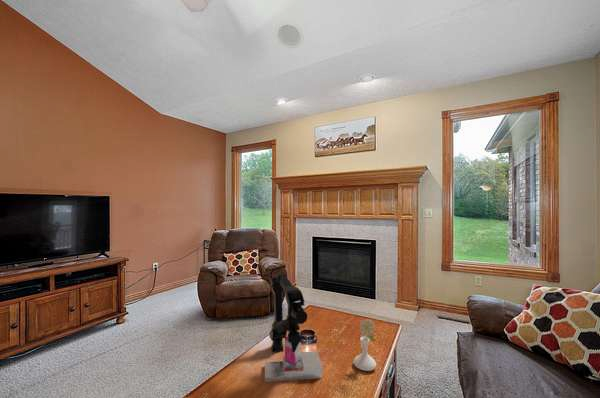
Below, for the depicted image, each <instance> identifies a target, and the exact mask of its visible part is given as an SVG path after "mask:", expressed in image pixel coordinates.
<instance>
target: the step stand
mask: <svg viewBox="0 0 600 398" xmlns="http://www.w3.org/2000/svg"><path fill="white" fill-rule="evenodd" d="M322 378H323V363H322V361H321V357H320V355H319V352H318V351H301V360H300V361H299V362H298V363H296V364H295V365H291V364H290V363H288V362H286V361H285V356H282V360H280V361H266V362H264V383H267V382H268V383H271V382H272V383H273V382H282V381H284V382H285V381H296V380H297V381H298V380H300V381H301V380H316V379H322Z"/></svg>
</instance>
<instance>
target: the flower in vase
mask: <svg viewBox="0 0 600 398" xmlns="http://www.w3.org/2000/svg"><path fill="white" fill-rule="evenodd" d="M375 330H376V328H375V323H374V322H373V321H372V320H371V319H367V318H365V319H362V321H361V322H360V324H359V331H360V333H361V334H362V336H361V337H359V339H360V341H361V345H362V352H361V353H360V354H358V355H356V356H355V357H354V359H353V365H354V366H355V367H356V368H357V369H359V370H360V371H361V370H362V371H367V372H371V371H373V370H375V368H376V367H377V363H376V360H375V359H374V358H373V357H372V356H371V355H370V354H368V344H369V342H370V341H371V342H376V340H375V337H374V336H373V333H374V331H375Z"/></svg>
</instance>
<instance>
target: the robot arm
mask: <svg viewBox="0 0 600 398" xmlns="http://www.w3.org/2000/svg"><path fill="white" fill-rule="evenodd" d="M269 287H270V290H271V292H272V293H273V309H274V310H273V312H274V313H273V315H274V317H273V318H274V320H273V322H272V323H271V329H270V331H269V338H270V341H272V344H271V352H284V342H283V341H284V340H283V339H285V338H286V337H287V336H288V342H291V346H292V352H295V350H296V348H297V346H298V344H299V342H302V341H303V339H302V338H303V336H302V334H301V332H300V325H302V324H304V323H306V322H307V320H308V314H307V312H306V311H305V310H304V309H305V308H303V306H305V299H304V296H303V292H302V291H301V290H300V289H299V288H298V287H297V286H294V285H293V284H292V282H291V281H290V280H289V278H288V277H287V274H285V273H284V274H277V275H276V276H274V277H272V278H271V279H270V280H269ZM283 292H285V296H284V297H285V300H286V303H287V316H286V318H285V319H283V318H284V317H283V315H284V314H283Z"/></svg>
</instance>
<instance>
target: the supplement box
mask: <svg viewBox="0 0 600 398" xmlns="http://www.w3.org/2000/svg"><path fill="white" fill-rule="evenodd" d="M301 342H302V341H301ZM301 342H299V344H298V346H297V348H296V350H295V352H292V346H291V342H288V335H286V338H284V357H285V361H286V362H288V363H290V364H291V365H295V364H296V363H298V362H299V361H300V360H301V352H302V351H301V344H302V343H301Z"/></svg>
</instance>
